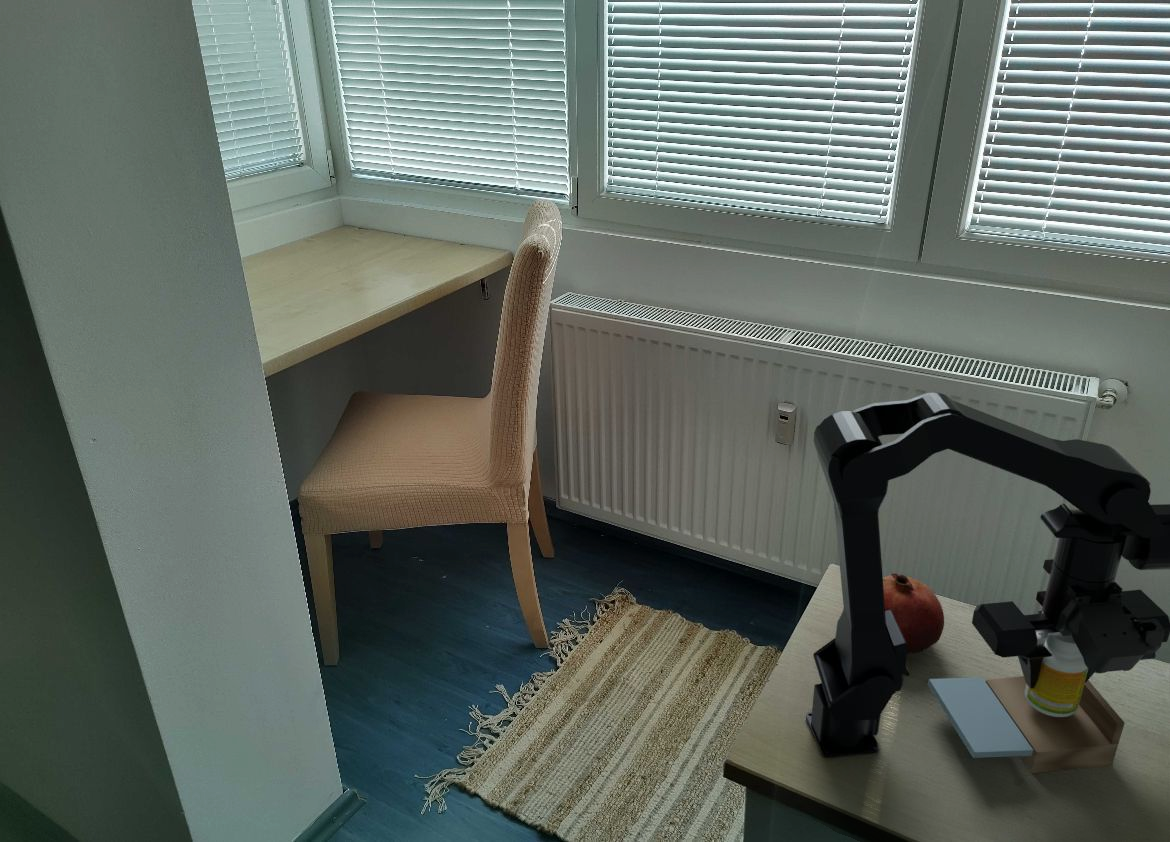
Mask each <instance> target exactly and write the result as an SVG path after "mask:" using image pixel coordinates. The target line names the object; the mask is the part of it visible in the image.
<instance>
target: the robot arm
mask: <svg viewBox="0 0 1170 842" xmlns="http://www.w3.org/2000/svg"><path fill="white" fill-rule="evenodd" d="M889 435H900V436H899V437H897V438H896V439H895V440H892V441H889V442H887V443H884V444H883V443H882V441H881V439H880V438H879V437H881V436H889ZM813 443H814V447H815V451H816V454H817V457H818V460H819V463H820V466H821V469H822V472H823V476H824V477H825V481H826V484H827V487H828V489H829V493H830V495H831V498H832V501H833V510H834V520H835V531H836V540H837V551H838V561H839V563H838V564H839V571H840V582H841V583H840V584H841V591H842V592H841V594H842V602H843V603H842V605H843V608H842V609H843V610H842V612H841V614H840V616H839V618H838V620H837V621H836V631H835V637H834V638H833V639H831V640H829V642H827V643H826V644H824V645H823V646H822V647H820V648H819V649H818V650H816V651H815V652H814V653H813V656H812V657H813V659H814V662H815V666H816V670H817V673H818V676H819V679H820V682H821V683H817V684H814V686H813V695H812V696H813V697H812V708H811V711H807V712H806V714H805V719H806V721H807V724H808V725H809V728H810V730H811V733H812V735H813V737H814V740H815V742H816V744H817V746H818V749H819V752H820V755H821V756H822V757H824V758H835V757H836V758H837V757H844V756H845V757H846V756H855V755H865V754H874V753H878V752H879V751H880V745H879V743H878V741H877V738H876V737H875V736H878V735H879V731H880V722H881V718H882V717H881V716H882V713H883V712H884V709H885V708H886V707H887V705H888V703H889V702H890V700H891V698H892V697H893V696H894V695H895V693H896V692H901V690H902V688H903V687H904V681H905V678H904V677H911V673H910V671H909V668H908V666H907V657H908V653H907V643H906V641H905V639H904V637H903V634H902V632H901V630H900V628H899V626H898V623H897V621H896V619H895V617H894V615H893V612H892V610H888V611H885V603H884V589H883V578H884V576H883V563H882V561H883V560H882V548H881V535H880V520H879V519H880V518H879V512H880V508H881V507H882V504H883V502H884V500H885V498H886V496H887V492H888V486H889V481H891V480H894V479H897V478H900V477H902V476H903V477H904V476H906V475H908V474H909V473H911V472H912V471H914V470H915V469H916V468H917V467H918V466H920V465H922V464H923V463H924V462H925V461H926V460H927V459H929V458H930V457H932V456H933V455H934V454H937V453H940V452H944V451H945V450H951V451H953V452H955V453H957V454H960V455H963V456H966V457H969V458H971V459H973V460H977V461H979V462H982V463H983V464H987V465H990V466H992V467H995V468H998V469H1001V470H1003V471H1005V472H1008V473H1011V474H1014V475H1016V476H1018V477H1022V478H1024V479H1026V480H1030V481H1032V482H1035V483H1037V484H1039V485H1042V486H1045V487H1047V488H1048V489H1050V490H1051V491H1053V492H1055V493H1056V494H1057V495H1059V496H1060V497H1062V498H1063V499H1064V500H1065V501H1067V502H1068V503H1069V504H1070V505H1072V506H1074V507H1075V508H1076V509H1070V508H1069V507H1068V506H1067V505H1066V503H1060V504H1059V505H1058V506H1057V507H1056V508H1053V509H1049V510H1047V511H1044V513H1042V514H1040V520H1041V521H1042V522H1043V523H1044V525H1045V526H1046V527H1047V529H1048V530H1049V531H1050V532H1051V534H1052V535H1053V537H1055V538H1057V543H1056V547H1055V552H1054V556H1053V558H1051V559H1044V562H1043V565H1042V566H1043V567H1042V568H1043V570H1044V571H1046V573H1047V574H1048V575H1049V578H1048V582H1047V586H1046V590H1041V591H1037V592H1036V595H1035V596H1036V597H1035V600H1036V601H1037V602H1038V604H1040V606H1041V607H1042V608H1041V610H1039V611H1038V612H1037V613H1034V614H1024V613H1023V612H1022V610H1020V609H1019V607H1018V606H1017V605H1016V604H1015V602H1014V601H1012V600H1011V601H1000V602H991V603H981V604H978V605H976V607H975V608H974V610H973V615H972V619H971V620H972V621H971V624H972V626H973V627H974V628H975V629H976V631H977V632H978V633H979V635H980V636H981V638H982V639H983V640H984V642H985V643H986V645H987V646H988V647H989V649H991V651H992V652H993V654H994V655H995V656H998V657H1001V658H1013V657H1014V658H1015V657H1017V658H1018V661H1019V664H1020V665H1019V666H1020V668H1021V671H1022V676H1024V678H1025V682H1026V684H1027V685H1028V686H1029V688H1030V689H1033V688H1035V685H1036V683H1037V681H1038V677H1039V673H1040V669H1041V665H1042V661H1043V658H1045V657H1051V656H1052V654H1051V653H1050V652H1049V651H1048V649H1047V648H1046V647H1045V646H1044V645H1045V641H1046V639H1047V637H1048V635H1058V634H1062V635H1063V636H1069V635H1072V638H1073V640H1074V642H1075V643H1076V645H1077V647H1078V649H1079V651H1080V653H1081V655H1082V657H1083V659H1084V663H1085V665H1086V666H1087V668H1088V673H1087V676H1086V680H1085V683H1086V682H1087V681H1088V680H1089V681H1090V678H1091V677H1093V675H1094V674H1095V673H1096V674H1105V673H1109V672H1118V671H1123V672H1128V671H1132V669H1134V667H1135V666H1136V665H1137V664H1138V662H1140V661H1144V660H1153V659H1156V655H1157V654H1156V653H1157V651H1158V650H1159V649H1160V648H1161V647H1162V644H1163V643H1167V642H1168V641H1169V638H1170V616H1169V615H1168V614H1167V613H1166V612H1165V611H1164V610H1163V609H1162V608H1161V607H1160V606H1158V604H1156V603H1155V601H1154V600H1152V599H1151V598H1150V597H1149V596H1148V595H1147V594H1146V593H1145V592H1144V591H1143V590H1142V589H1133V590H1132V589H1131V590H1123V588H1122V587H1121V586H1120V585H1119V584H1118V583H1117V582H1116V579H1117V578H1116V577H1117V574H1118V570H1119V567H1120V562H1121V559H1122V558H1123V559H1124V560H1126V561H1128V562H1129V564H1130V565H1131V566H1132V567H1133V568H1135V569H1136V570H1138V571H1139V570H1140V571H1153V570H1155V571H1157V570H1162V571H1163V570H1170V504H1169V503H1168V504H1167V503H1166V504H1165V503H1164V504H1162V503H1161V504H1151V503H1150V502H1149V500H1150V497H1151V492H1152V491H1151V482H1150V481H1149V480H1148V479H1147V478H1146V477H1145V476H1144V475H1143V474H1142V473H1140V471H1138V470H1137V468H1135V467H1134V466H1133V465H1132V464H1131V463H1130V462H1129V461H1128V460H1127V459H1126V458H1125V457H1123V455H1121V454H1120V453H1119V451H1117V450H1116V449H1115V448H1113V447H1112V446H1109V445H1107V444H1103V443H1098V442H1092V441H1090V440H1089V441H1088V440H1083V439H1078V438H1075V439H1068V440H1062V439H1061V440H1060V439H1057V438H1056V439H1055V438H1051V437H1047V436H1045V435H1043V434H1040V433H1038V432H1035V431H1033V430H1030V429H1028V428H1025V427H1023V426H1020V425H1017V424H1015V423H1012V422H1010V421H1007V420H1004V419H1002V418H999V417H996V416H995V415H994V416H993V415H991V414H989V413H986V412H983V411H981V410H978V409H976V408H974V407H970V406H968V405H966V404H963V403H960V402H958V401H956V400H953V399H952V398H951V397H949V396H948V395H946V394H943V393H939V392H934V391H933V392H927V393H923V394H920V395H918V396H915V397H913V398H910V399H903V400H895V401H894V400H893V401H882V402H874V403H870V404H867V405H865V406H862V407H859V408H857V409H854V410H849V411H847V410H845V411H844V410H842V411H839V412H836V413H832V414H830V415H829V416H828V417H826V418H824V419H823V420H822V421H821V423H819V425H817V426H816V427H815V430H814V431H813Z"/></svg>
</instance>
